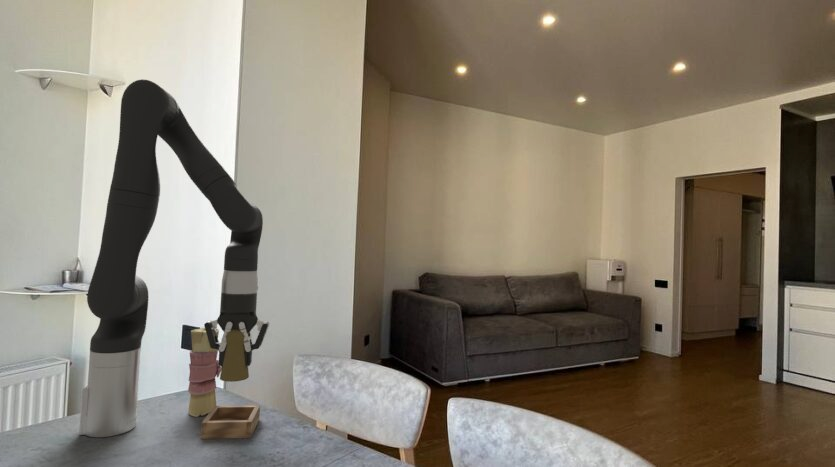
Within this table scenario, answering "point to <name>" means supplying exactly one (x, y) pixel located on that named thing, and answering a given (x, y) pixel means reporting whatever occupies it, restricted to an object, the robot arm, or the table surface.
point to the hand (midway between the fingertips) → (235, 367)
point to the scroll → (202, 374)
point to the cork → (234, 358)
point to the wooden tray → (230, 422)
